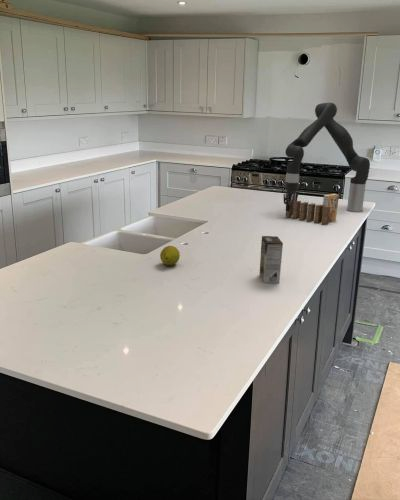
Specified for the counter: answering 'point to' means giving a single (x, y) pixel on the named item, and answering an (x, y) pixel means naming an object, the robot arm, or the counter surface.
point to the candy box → (333, 202)
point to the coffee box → (270, 259)
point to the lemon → (170, 255)
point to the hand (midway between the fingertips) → (289, 210)
